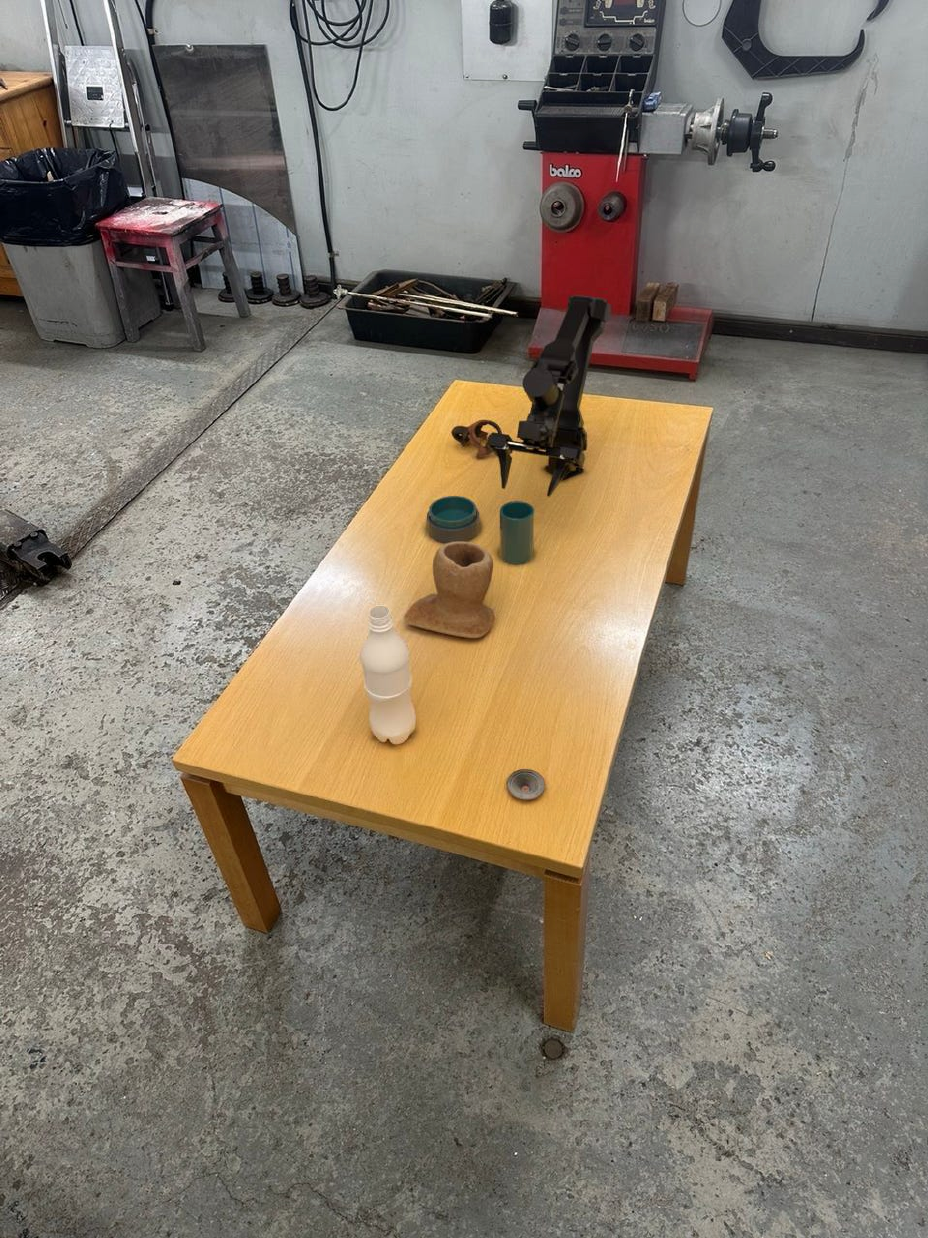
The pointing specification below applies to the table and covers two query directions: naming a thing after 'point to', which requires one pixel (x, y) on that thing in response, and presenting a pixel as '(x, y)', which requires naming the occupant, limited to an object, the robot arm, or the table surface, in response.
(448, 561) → the stone cup
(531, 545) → the teal cup
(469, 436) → the brown ring piece
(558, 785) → the table surface
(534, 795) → the dark grey round dish
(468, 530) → the stack base cup
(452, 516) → the stack top cup
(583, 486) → the table surface
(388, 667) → the water bottle
